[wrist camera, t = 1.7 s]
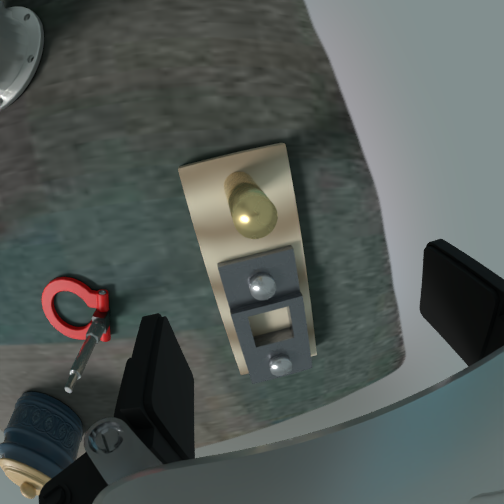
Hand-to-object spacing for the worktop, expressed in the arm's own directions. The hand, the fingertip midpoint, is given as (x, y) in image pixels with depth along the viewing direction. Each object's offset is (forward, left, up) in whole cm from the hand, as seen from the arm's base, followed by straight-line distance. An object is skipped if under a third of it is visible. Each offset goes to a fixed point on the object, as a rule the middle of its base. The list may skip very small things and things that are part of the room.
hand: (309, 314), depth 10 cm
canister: (+28, -40, -22) cm, 54 cm away
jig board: (+10, 0, -22) cm, 24 cm away
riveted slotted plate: (+15, 0, -20) cm, 25 cm away
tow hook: (+9, -22, -22) cm, 33 cm away
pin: (0, 0, -20) cm, 20 cm away
